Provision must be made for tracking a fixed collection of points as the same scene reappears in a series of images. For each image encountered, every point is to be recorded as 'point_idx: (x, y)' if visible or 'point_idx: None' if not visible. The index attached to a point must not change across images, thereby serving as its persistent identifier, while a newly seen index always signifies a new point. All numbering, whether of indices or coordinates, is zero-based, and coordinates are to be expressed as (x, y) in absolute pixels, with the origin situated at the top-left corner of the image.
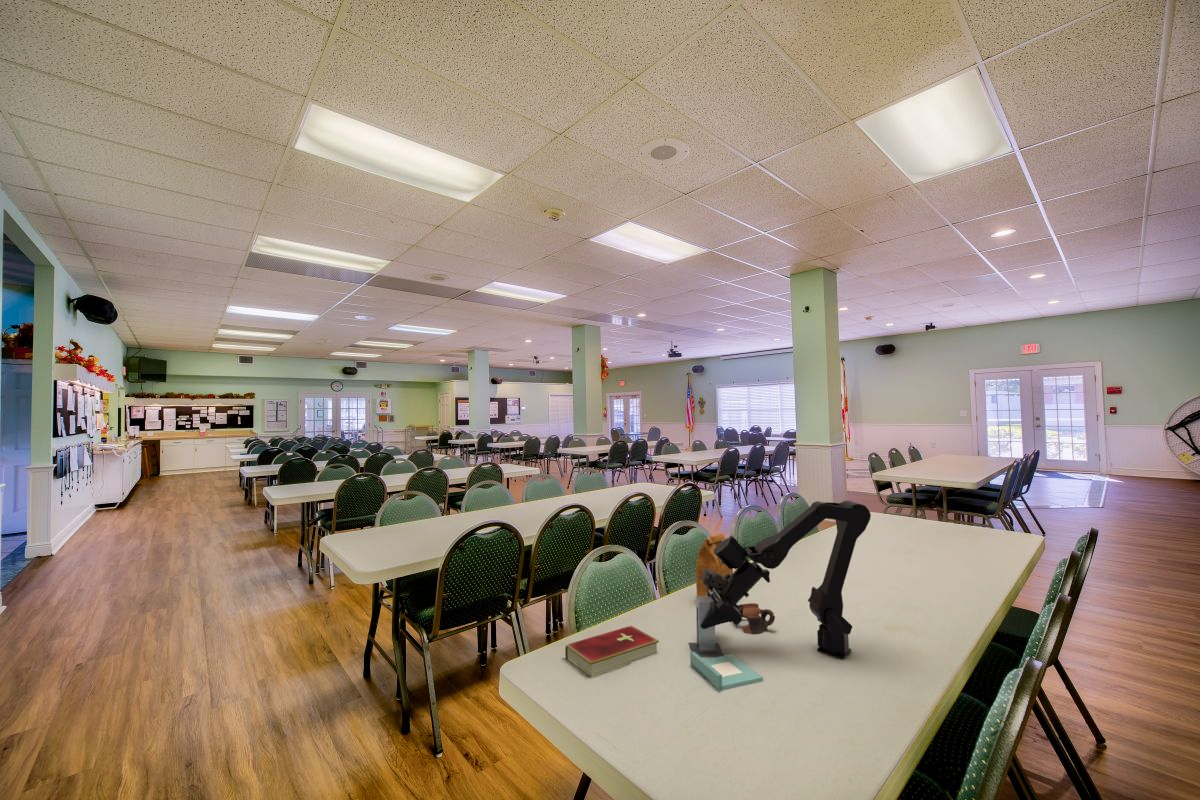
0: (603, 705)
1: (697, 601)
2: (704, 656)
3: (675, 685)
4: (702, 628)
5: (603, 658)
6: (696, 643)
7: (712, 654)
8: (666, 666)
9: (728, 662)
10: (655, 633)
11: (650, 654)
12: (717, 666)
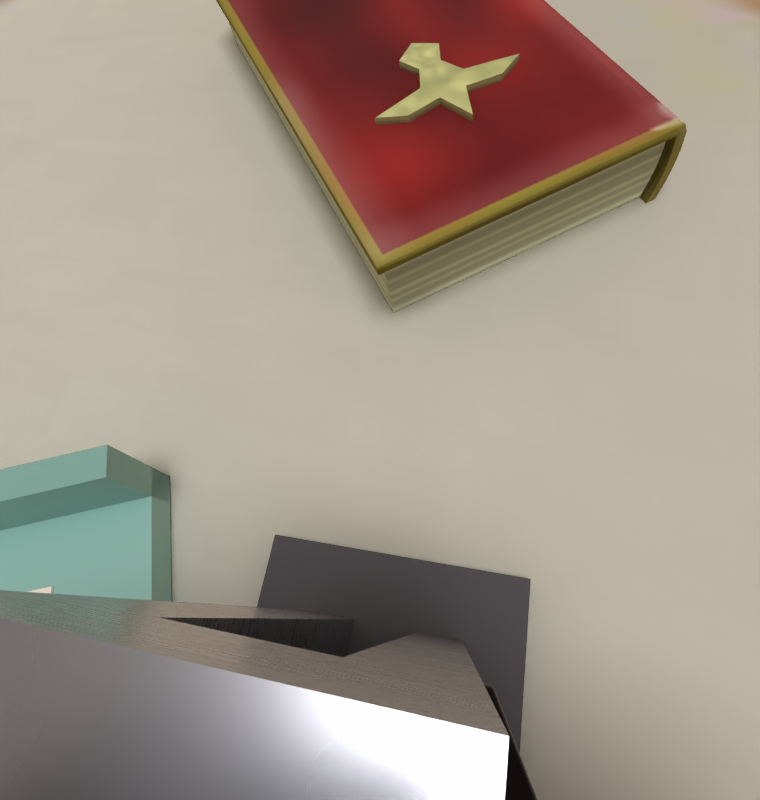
0: (36, 83)
1: (174, 642)
2: None
3: (32, 341)
4: None
5: (225, 6)
6: (505, 655)
7: None
8: (228, 337)
9: None
10: (751, 361)
11: (371, 268)
12: None
